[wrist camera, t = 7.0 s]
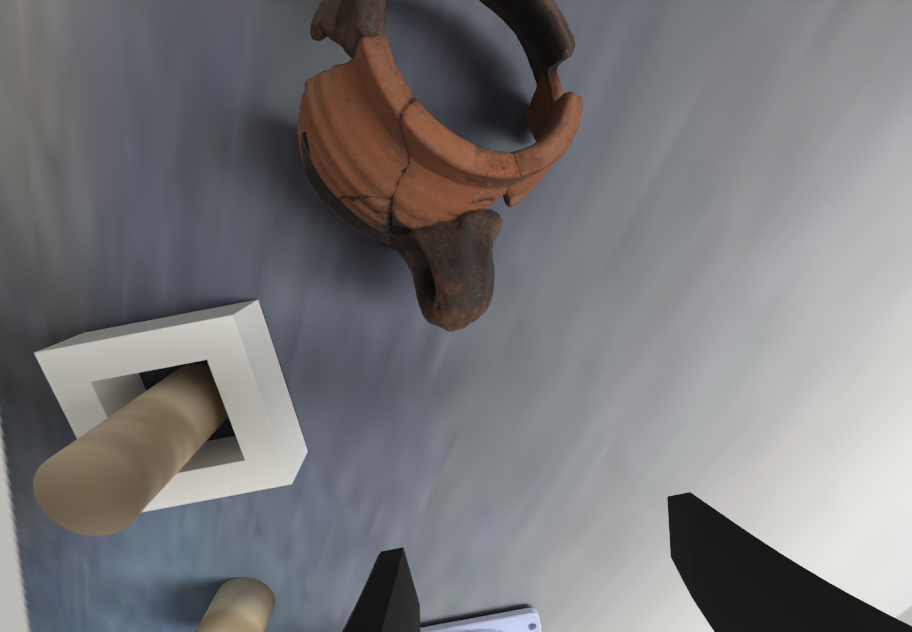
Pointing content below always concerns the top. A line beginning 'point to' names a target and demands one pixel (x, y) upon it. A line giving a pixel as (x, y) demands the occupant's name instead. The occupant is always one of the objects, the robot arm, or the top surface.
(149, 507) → the collar
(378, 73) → the pottery mug
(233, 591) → the short pin
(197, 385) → the long pin
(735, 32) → the top surface
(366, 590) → the robot arm
